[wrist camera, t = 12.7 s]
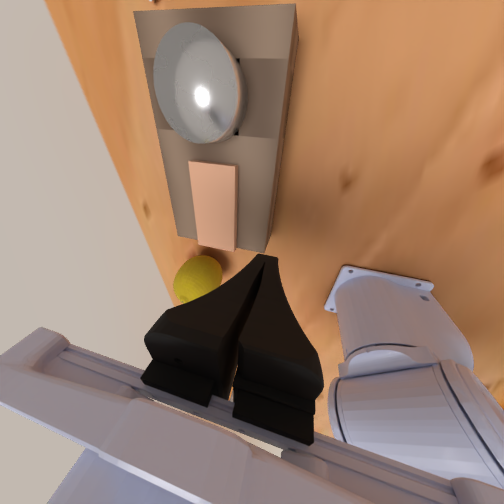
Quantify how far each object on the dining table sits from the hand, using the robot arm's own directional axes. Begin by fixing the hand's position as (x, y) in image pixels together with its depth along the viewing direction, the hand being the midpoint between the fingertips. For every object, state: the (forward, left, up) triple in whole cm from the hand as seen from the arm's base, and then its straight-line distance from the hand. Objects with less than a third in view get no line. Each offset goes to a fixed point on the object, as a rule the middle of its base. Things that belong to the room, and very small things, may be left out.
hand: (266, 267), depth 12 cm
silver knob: (+6, -9, -9) cm, 14 cm away
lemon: (+9, +9, -10) cm, 16 cm away
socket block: (+6, -5, -10) cm, 13 cm away
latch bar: (+6, -1, -6) cm, 8 cm away
